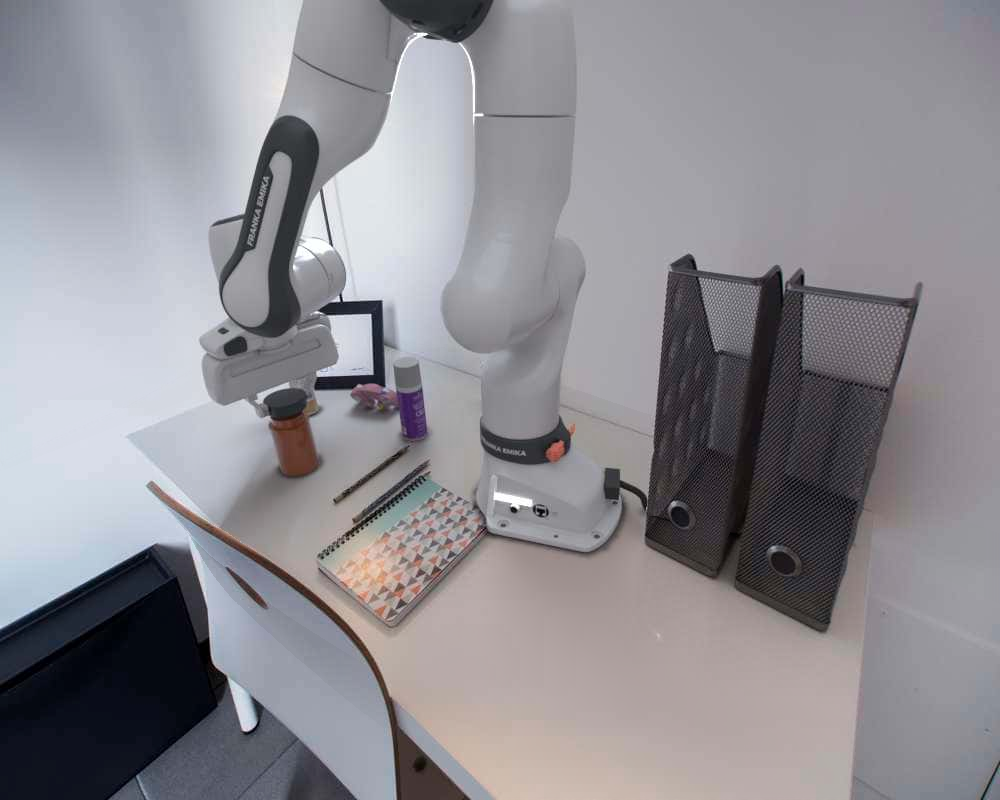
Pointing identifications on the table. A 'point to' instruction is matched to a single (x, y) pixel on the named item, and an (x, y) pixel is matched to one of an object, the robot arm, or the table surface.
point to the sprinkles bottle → (311, 402)
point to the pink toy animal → (374, 396)
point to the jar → (294, 444)
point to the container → (410, 398)
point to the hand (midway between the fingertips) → (286, 406)
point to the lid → (286, 402)
